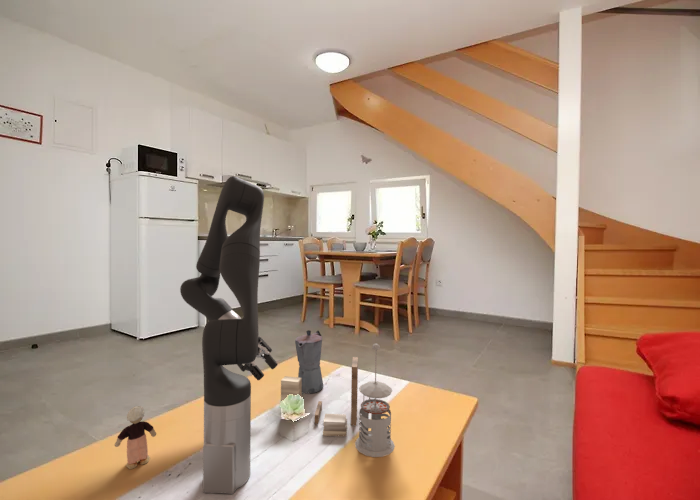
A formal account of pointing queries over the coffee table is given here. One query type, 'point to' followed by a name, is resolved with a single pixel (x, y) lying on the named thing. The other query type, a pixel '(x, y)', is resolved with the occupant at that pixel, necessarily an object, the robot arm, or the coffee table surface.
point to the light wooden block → (290, 386)
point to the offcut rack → (353, 396)
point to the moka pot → (309, 361)
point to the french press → (375, 419)
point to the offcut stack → (335, 425)
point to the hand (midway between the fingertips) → (268, 372)
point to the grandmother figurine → (136, 437)
